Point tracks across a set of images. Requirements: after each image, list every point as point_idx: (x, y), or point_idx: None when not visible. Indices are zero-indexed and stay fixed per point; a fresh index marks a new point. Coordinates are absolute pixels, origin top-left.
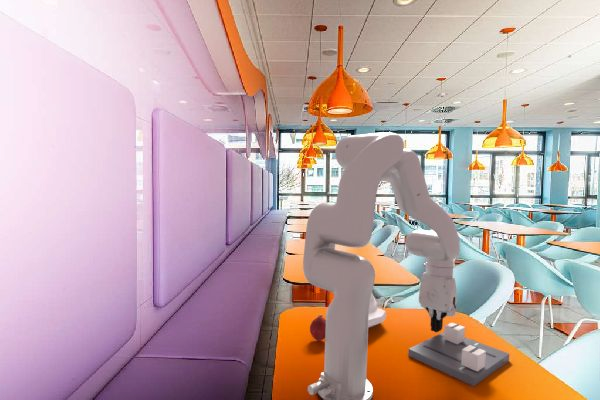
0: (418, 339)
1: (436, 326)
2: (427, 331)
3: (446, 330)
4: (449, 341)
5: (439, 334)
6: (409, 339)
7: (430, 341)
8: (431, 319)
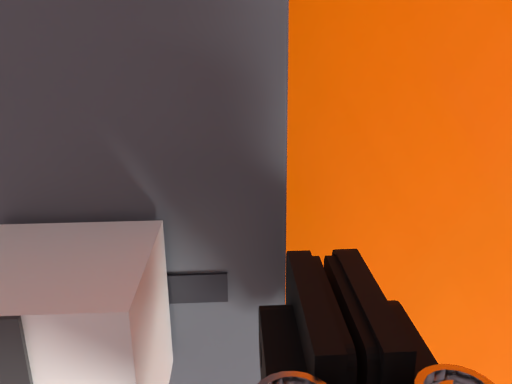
0: (426, 126)
1: (296, 296)
2: (451, 348)
3: (106, 275)
4: None
5: (279, 300)
6: (495, 41)
7: (237, 45)
8: (422, 359)
